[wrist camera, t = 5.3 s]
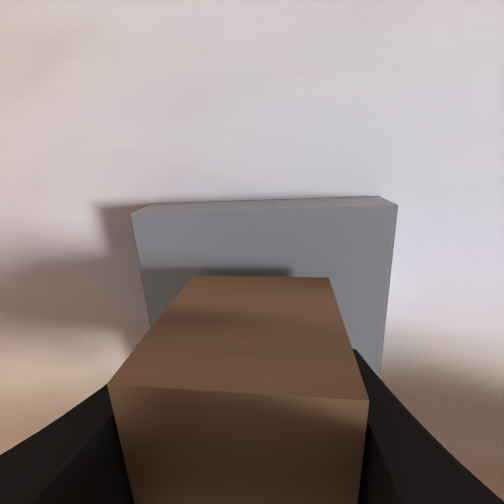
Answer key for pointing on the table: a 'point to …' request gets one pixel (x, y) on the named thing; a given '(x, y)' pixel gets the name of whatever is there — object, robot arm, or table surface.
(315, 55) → the table surface
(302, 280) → the walnut block
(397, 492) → the robot arm
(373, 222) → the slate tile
